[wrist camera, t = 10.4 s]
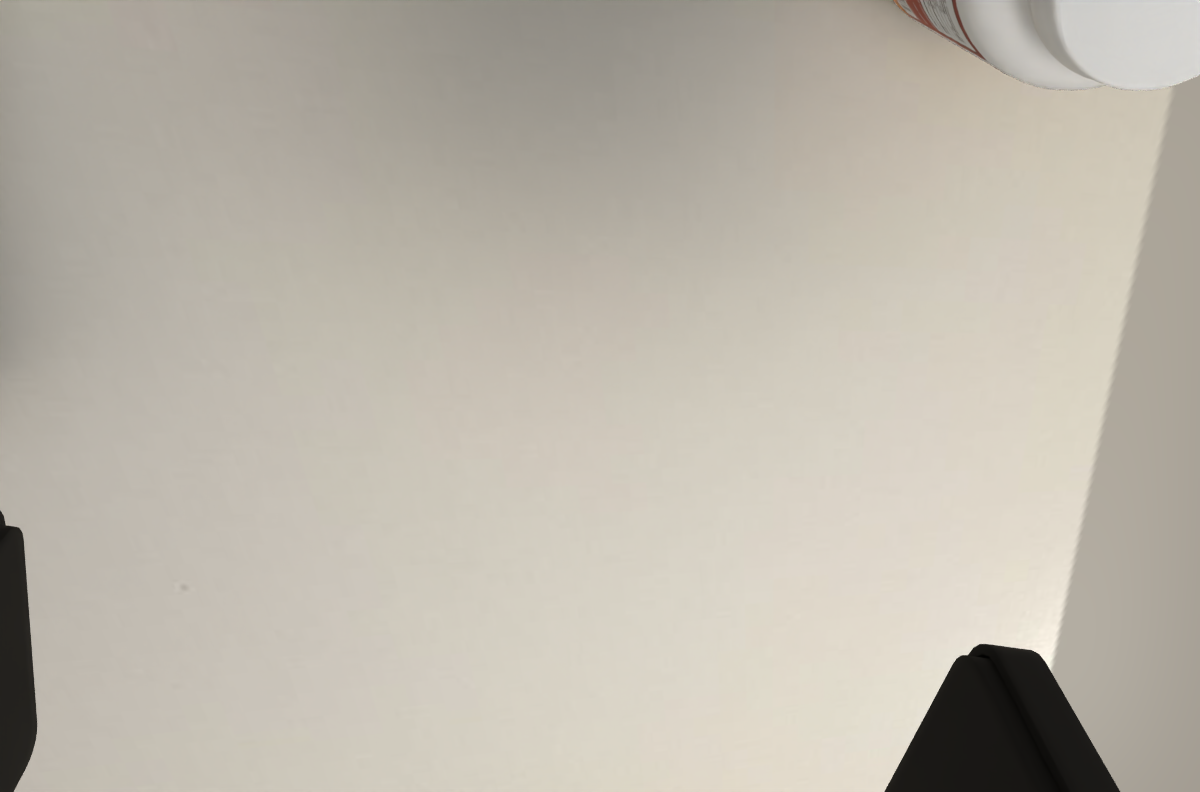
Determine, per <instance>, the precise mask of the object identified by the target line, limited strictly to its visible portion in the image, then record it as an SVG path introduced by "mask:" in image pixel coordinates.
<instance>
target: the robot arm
mask: <svg viewBox="0 0 1200 792" xmlns="http://www.w3.org/2000/svg"><path fill="white" fill-rule="evenodd" d="M36 734H37V715H36V702H35V688H34V674H33V661H32V647H31V634H30V620H29V607H28V593H27V580H26V566H25V553H24V540H23V534H22V531H21V530H20V528H17V527H13V526H6V525H5V520H4V516H3V514H2V512H1V511H0V792H14V790H15V788H16V786H17V784H18V782H19V780H20V778H21V776H22V775H23V773H24V771H25V769H26V767H27V765H28V762H29V760H30V757H31V755H32V752H33V748H34V744H35V741H36ZM885 792H1120V791H1119V789H1118V787H1117V786H1116V784H1115V782H1114V780H1113V779H1112V777H1111V775H1110V773H1109V772H1108V770H1107V768H1106V766H1105V765H1104V763H1103V761H1102V759H1101V758H1100V756H1099V754H1098V753H1097V751H1096V749H1095V747H1094V746H1093V744H1092V742H1091V740H1090V739H1089V737H1088V735H1087V733H1086V732H1085V730H1084V728H1083V727H1082V725H1081V723H1080V721H1079V720H1078V718H1077V716H1076V714H1075V713H1074V711H1073V709H1072V708H1071V706H1070V704H1069V702H1068V701H1067V699H1066V697H1065V695H1064V694H1063V692H1062V690H1061V688H1060V687H1059V685H1058V683H1057V682H1056V680H1055V678H1054V676H1053V675H1052V673H1051V671H1050V669H1049V668H1048V666H1047V664H1046V662H1045V661H1044V660H1043V659H1042V657H1041V656H1040V655H1039V654H1038V653H1036V652H1034V651H1032V650H1026V649H1018V648H1011V647H1004V646H996V645H989V644H979V645H978V646H976V647H974V648H973V649H972V651H971V652H970V653H969V655H962V656H960V657H958V658H957V659H956V661H955V662H954V663H953V665H952V667H951V669H950V671H949V672H948V674H947V676H946V678H945V680H944V682H943V684H942V685H941V687H940V689H939V691H938V693H937V695H936V697H935V699H934V700H933V702H932V704H931V706H930V708H929V710H928V712H927V713H926V715H925V717H924V719H923V721H922V723H921V725H920V727H919V728H918V730H917V732H916V734H915V736H914V738H913V740H912V741H911V743H910V745H909V747H908V749H907V751H906V753H905V755H904V756H903V758H902V760H901V762H900V764H899V766H898V768H897V769H896V771H895V773H894V775H893V777H892V779H891V781H890V783H889V784H888V786H887V788H886V790H885Z"/></svg>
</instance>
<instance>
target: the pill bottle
mask: <svg viewBox="0 0 1200 792" xmlns="http://www.w3.org/2000/svg"><path fill="white" fill-rule="evenodd" d="M893 1H894V2H895V4H896V5H897V6H898V7H899V8H900V9H901V10H902V11H903V12H904V13H906V14H907V15H908V16H909V17H911V18H912V19H913V20H915V21H916V22H918V23H920V24H921V25H923V26H925V27H926V28H928V29H930V30H931V31H933V32H935V33H937V34H938V35H940V36H941V37H943V38H945V39H947V40H949V41H950V42H952V43H953V44H955V45H957V46H959V47H960V48H962V49H964V50H966V51H967V52H969V53H971V54H973V55H974V56H976V57H978V58H980V59H981V60H983V61H985V62H987V63H988V64H990V65H992V66H993V67H995V68H996V69H998V70H1000V71H1001V72H1002V73H1004V74H1007V75H1009V76H1011V77H1013V78H1015V79H1017V80H1019V81H1022V82H1024V83H1027V84H1030V85H1033V86H1036V87H1040V88H1046V89H1052V90H1071V91H1072V90H1086V89H1093V88H1099V87H1103V86H1109V87H1113V88H1117V89H1122V90H1132V91H1149V90H1158V89H1163V88H1167V87H1171V86H1174V85H1177V84H1180V83H1183V82H1185V81H1187V80H1190V79H1192V78H1194V77H1196V76H1199V75H1200V0H893Z"/></svg>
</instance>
